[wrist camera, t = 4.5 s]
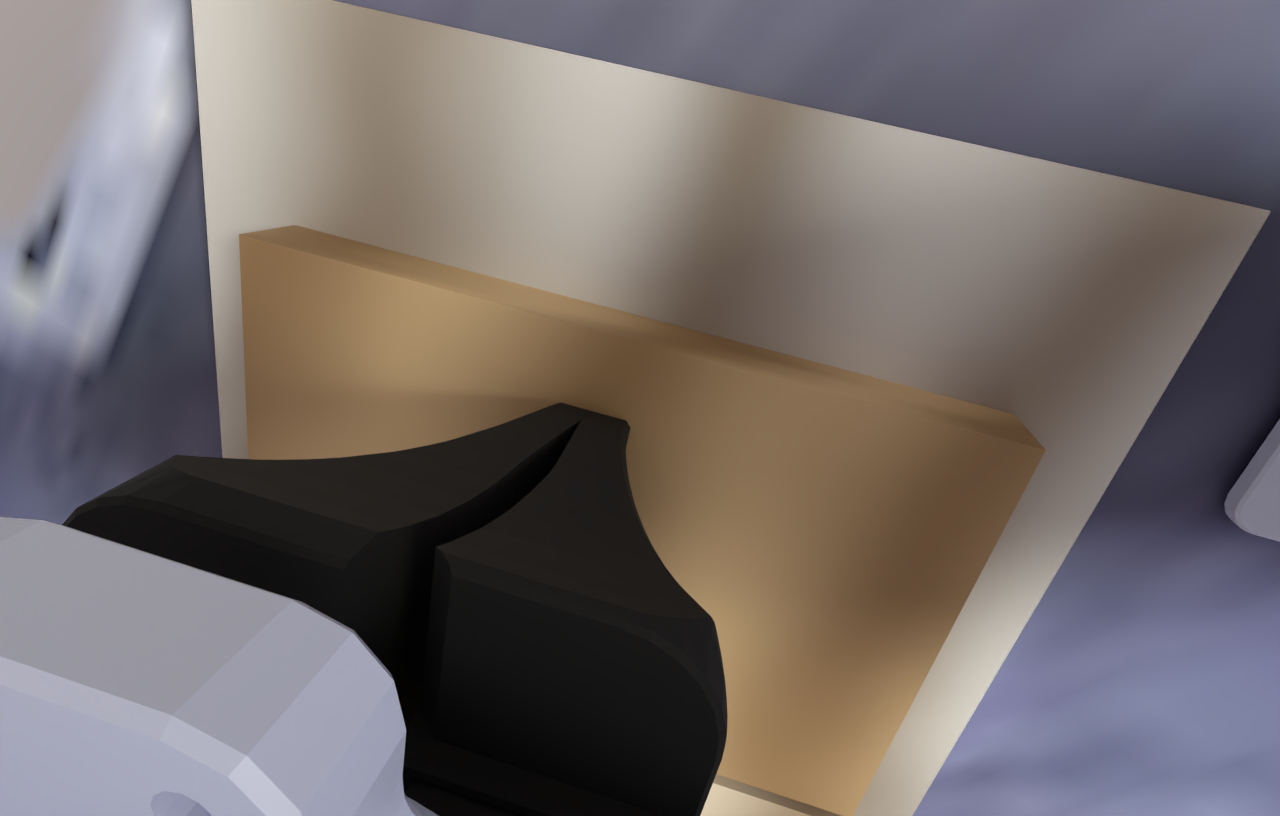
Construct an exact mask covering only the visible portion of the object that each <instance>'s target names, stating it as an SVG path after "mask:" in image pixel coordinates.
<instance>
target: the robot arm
mask: <svg viewBox="0 0 1280 816" xmlns="http://www.w3.org/2000/svg"><path fill="white" fill-rule="evenodd" d="M629 432H630V426H629V425H628V423H627V421H626V420H623V419H619V418H615V417H612V416H608V415H604V414H601V413H597V412H593V411H590V410H586V409H583V408H579V407H575V406H572V405H568V404H565V403H557V404H554V405H551V406H548V407H546V408H543V409H540V410H538V411H535V412H532V413H530V414H527V415H525V416H522V417H519V418H517V419H514V420H511V421H508V422H506V423H503V424H500V425H498V426H495V427H491V428H488V429H485V430H482V431H478V432H475V433H472V434H469V435H465V436H462V437H459V438H456V439H452V440H448V441H444V442H440V443H436V444H432V445H427V446H422V447H417V448H411V449H406V450H400V451H394V452H386V453H377V454H368V455H359V456H350V457H341V458H323V459H293V460H255V459H235V458H214V457H194V456H182V455H175V456H173V457H171V458H169V459H167V460H166V461H164V462H162V463H160V464H158V465H156V466H154V467H153V468H151V469H149V470H147V471H145V472H143V473H141V474H139V475H138V476H136V477H134V478H132V479H130V480H128V481H126V482H124V483H123V484H121V485H119V486H117V487H115V488H113V489H111V490H109V491H108V492H106V493H104V494H102V495H100V496H98V497H96V498H94V499H93V500H91V501H89V502H87V503H85V504H83V505H81V506H79V507H78V508H76V509H75V511H74V512H73V513H72V514H71V515H70V516H69V518H68V519H67V520H66V521H65V522H64V523H63V525H60V524H57V523H53V522H48V521H44V520H34V519H20V518H7V517H0V816H700V815H701V813H702V810H703V808H704V805H705V802H706V800H707V797H708V794H709V792H710V789H711V787H712V784H713V781H714V779H715V776H716V774H717V771H718V768H719V766H720V763H721V761H722V757H723V753H724V749H725V744H726V738H727V720H728V714H727V696H726V685H725V676H724V669H723V662H722V655H721V650H720V645H719V640H718V635H717V630H716V626H715V622H714V620H713V619H712V617H711V616H710V615H709V614H708V613H707V612H706V611H705V610H704V609H703V608H702V607H701V606H700V605H699V604H698V603H697V602H696V601H695V600H694V599H693V598H692V597H691V596H690V595H689V594H688V593H687V592H686V591H685V590H684V589H683V588H682V587H681V586H680V585H679V583H678V582H677V581H676V580H675V578H674V577H673V576H672V575H671V573H670V572H669V571H668V570H667V568H666V567H665V565H664V564H663V562H662V561H661V559H660V557H659V556H658V554H657V552H656V551H655V549H654V548H653V546H652V544H651V542H650V540H649V538H648V536H647V534H646V531H645V529H644V527H643V525H642V522H641V520H640V517H639V515H638V512H637V509H636V506H635V502H634V499H633V495H632V491H631V487H630V483H629V477H628V470H627V462H626V446H627V441H628V437H629ZM1224 506H1225V513H1226V514H1227V516H1228V517H1229V518H1230V519H1231V520H1232V521H1233V522H1234V523H1235V524H1236V525H1237V526H1239V527H1240V528H1241V529H1242V530H1244V531H1246V532H1248V533H1251V534H1253V535H1257V536H1260V537H1264V538H1268V539H1271V540H1275V541H1279V542H1280V419H1279V421H1278V422H1277V424H1276V425H1275V426H1274V428H1273V429H1272V431H1271V432H1270V434H1269V435H1268V437H1267V438H1266V440H1265V441H1264V442H1263V444H1262V445H1261V447H1260V448H1259V450H1258V451H1257V453H1256V454H1255V456H1254V457H1253V458H1252V460H1251V461H1250V463H1249V464H1248V466H1247V467H1246V469H1245V470H1244V472H1243V473H1242V474H1241V476H1240V477H1239V479H1238V480H1237V482H1236V483H1235V485H1234V486H1233V488H1232V489H1231V490H1230V492H1229V493H1228V495H1227V498H1226V500H1225V503H1224Z"/></svg>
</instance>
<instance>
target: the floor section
mask: <svg viewBox="0 0 1280 816" xmlns="http://www.w3.org/2000/svg"><path fill="white" fill-rule="evenodd" d="M191 1H192V16H193V31H194V45H195V60H196V75H197V90H198V104H199V119H200V134H201V149H202V163H203V178H204V193H205V208H206V222H207V237H208V252H209V267H210V282H211V296H212V311H213V326H214V341H215V355H216V370H217V385H218V400H219V414H220V429H221V444H222V458H235V459H248V440H247V416H246V392H245V368H244V344H243V320H242V297H241V273H240V249H239V234H244V233H250V232H256V231H262V230H268V229H274V228H280V227H286V226H292V225H297V226H301V227H305V228H309V229H312V230H316V231H320V232H324V233H328V234H331V235H335V236H339V237H343V238H347V239H350V240H354V241H358V242H362V243H366V244H369V245H373V246H377V247H381V248H385V249H388V250H392V251H396V252H400V253H404V254H407V255H411V256H415V257H419V258H423V259H426V260H430V261H434V262H438V263H442V264H445V265H449V266H453V267H457V268H461V269H464V270H468V271H472V272H476V273H480V274H483V275H487V276H491V277H495V278H499V279H502V280H506V281H510V282H514V283H518V284H521V285H525V286H529V287H533V288H537V289H540V290H544V291H548V292H552V293H556V294H559V295H563V296H567V297H571V298H574V299H578V300H582V301H586V302H590V303H593V304H597V305H601V306H605V307H609V308H612V309H616V310H620V311H624V312H628V313H631V314H635V315H639V316H643V317H647V318H650V319H654V320H658V321H662V322H666V323H669V324H673V325H677V326H681V327H685V328H688V329H692V330H696V331H700V332H704V333H707V334H711V335H715V336H719V337H723V338H726V339H730V340H734V341H738V342H742V343H745V344H749V345H753V346H757V347H761V348H764V349H768V350H772V351H776V352H780V353H783V354H787V355H791V356H795V357H799V358H802V359H806V360H810V361H814V362H818V363H821V364H825V365H829V366H833V367H837V368H840V369H844V370H848V371H852V372H856V373H859V374H863V375H867V376H871V377H875V378H878V379H882V380H886V381H890V382H894V383H897V384H901V385H905V386H909V387H913V388H916V389H920V390H924V391H928V392H932V393H935V394H939V395H943V396H947V397H950V398H954V399H958V400H962V401H966V402H969V403H973V404H977V405H981V406H985V407H988V408H992V409H996V410H1000V411H1004V412H1007V413H1011V414H1015V415H1016V416H1017V417H1018V419H1019V420H1020V421H1021V422H1022V423H1023V424H1024V426H1025V427H1026V428H1027V429H1028V430H1029V431H1030V432H1031V434H1032V435H1033V436H1034V437H1035V438H1036V439H1037V440H1038V442H1039V443H1040V444H1041V445H1042V446H1043V447H1044V449H1045V450H1046V451H1045V453H1044V455H1043V456H1042V458H1041V460H1040V462H1039V464H1038V466H1037V468H1036V470H1035V472H1034V474H1033V475H1032V477H1031V479H1030V481H1029V483H1028V485H1027V487H1026V489H1025V491H1024V492H1023V494H1022V496H1021V498H1020V500H1019V502H1018V504H1017V506H1016V508H1015V510H1014V511H1013V513H1012V515H1011V517H1010V519H1009V521H1008V523H1007V525H1006V527H1005V529H1004V530H1003V532H1002V534H1001V536H1000V538H999V540H998V542H997V544H996V546H995V547H994V549H993V551H992V553H991V555H990V557H989V559H988V561H987V563H986V565H985V566H984V568H983V570H982V572H981V574H980V576H979V578H978V580H977V582H976V583H975V585H974V587H973V589H972V591H971V593H970V595H969V597H968V599H967V601H966V602H965V604H964V606H963V608H962V610H961V612H960V614H959V616H958V618H957V619H956V621H955V623H954V625H953V627H952V629H951V631H950V633H949V635H948V637H947V638H946V640H945V642H944V644H943V646H942V648H941V650H940V652H939V654H938V656H937V657H936V659H935V661H934V663H933V665H932V667H931V669H930V671H929V673H928V674H927V676H926V678H925V680H924V682H923V684H922V686H921V688H920V690H919V692H918V693H917V695H916V697H915V699H914V701H913V703H912V705H911V707H910V709H909V710H908V712H907V714H906V716H905V718H904V720H903V722H902V724H901V726H900V728H899V729H898V731H897V733H896V735H895V737H894V739H893V741H892V743H891V745H890V746H889V748H888V750H887V752H886V754H885V756H884V758H883V760H882V762H881V764H880V765H879V767H878V769H877V771H876V773H875V775H874V777H873V779H872V781H871V782H870V784H869V786H868V788H867V790H866V792H865V794H864V796H863V798H862V800H861V801H860V803H859V805H858V807H857V809H856V811H855V813H854V815H853V816H912V815H913V814H914V812H915V810H916V808H917V807H918V805H919V803H920V802H921V800H922V798H923V797H924V795H925V793H926V792H927V790H928V788H929V787H930V785H931V783H932V782H933V780H934V778H935V776H936V775H937V773H938V771H939V770H940V768H941V766H942V765H943V763H944V761H945V760H946V758H947V756H948V755H949V753H950V751H951V750H952V748H953V746H954V745H955V743H956V741H957V739H958V738H959V736H960V734H961V733H962V731H963V729H964V728H965V726H966V724H967V723H968V721H969V719H970V718H971V716H972V714H973V713H974V711H975V709H976V707H977V706H978V704H979V702H980V701H981V699H982V697H983V696H984V694H985V692H986V691H987V689H988V687H989V686H990V684H991V682H992V681H993V679H994V677H995V675H996V674H997V672H998V670H999V669H1000V667H1001V665H1002V664H1003V662H1004V660H1005V659H1006V657H1007V655H1008V654H1009V652H1010V650H1011V649H1012V647H1013V645H1014V643H1015V642H1016V640H1017V638H1018V637H1019V635H1020V633H1021V632H1022V630H1023V628H1024V627H1025V625H1026V623H1027V622H1028V620H1029V618H1030V617H1031V615H1032V613H1033V611H1034V610H1035V608H1036V606H1037V605H1038V603H1039V601H1040V600H1041V598H1042V596H1043V595H1044V593H1045V591H1046V590H1047V588H1048V586H1049V585H1050V583H1051V581H1052V579H1053V578H1054V576H1055V574H1056V573H1057V571H1058V569H1059V568H1060V566H1061V564H1062V563H1063V561H1064V559H1065V558H1066V556H1067V554H1068V553H1069V551H1070V549H1071V547H1072V546H1073V544H1074V542H1075V541H1076V539H1077V537H1078V536H1079V534H1080V532H1081V531H1082V529H1083V527H1084V526H1085V524H1086V522H1087V521H1088V519H1089V517H1090V515H1091V514H1092V512H1093V510H1094V509H1095V507H1096V505H1097V504H1098V502H1099V500H1100V499H1101V497H1102V495H1103V494H1104V492H1105V490H1106V489H1107V487H1108V485H1109V483H1110V482H1111V480H1112V478H1113V477H1114V475H1115V473H1116V472H1117V470H1118V468H1119V467H1120V465H1121V463H1122V462H1123V460H1124V458H1125V457H1126V455H1127V453H1128V451H1129V450H1130V448H1131V446H1132V445H1133V443H1134V441H1135V440H1136V438H1137V436H1138V435H1139V433H1140V431H1141V430H1142V428H1143V426H1144V425H1145V423H1146V421H1147V420H1148V418H1149V416H1150V414H1151V413H1152V411H1153V409H1154V408H1155V406H1156V404H1157V403H1158V401H1159V399H1160V398H1161V396H1162V394H1163V393H1164V391H1165V389H1166V388H1167V386H1168V384H1169V382H1170V381H1171V379H1172V377H1173V376H1174V374H1175V372H1176V371H1177V369H1178V367H1179V366H1180V364H1181V362H1182V361H1183V359H1184V357H1185V356H1186V354H1187V352H1188V350H1189V349H1190V347H1191V345H1192V344H1193V342H1194V340H1195V339H1196V337H1197V335H1198V334H1199V332H1200V330H1201V329H1202V327H1203V325H1204V324H1205V322H1206V320H1207V318H1208V317H1209V315H1210V313H1211V312H1212V310H1213V308H1214V307H1215V305H1216V303H1217V302H1218V300H1219V298H1220V297H1221V295H1222V293H1223V292H1224V290H1225V288H1226V286H1227V285H1228V283H1229V281H1230V280H1231V278H1232V276H1233V275H1234V273H1235V271H1236V270H1237V268H1238V266H1239V265H1240V263H1241V261H1242V260H1243V258H1244V256H1245V254H1246V253H1247V251H1248V249H1249V248H1250V246H1251V244H1252V243H1253V241H1254V239H1255V238H1256V236H1257V234H1258V233H1259V231H1260V229H1261V228H1262V226H1263V224H1264V222H1265V221H1266V219H1267V217H1268V216H1269V214H1270V212H1271V211H1270V210H1265V209H1261V208H1256V207H1252V206H1247V205H1243V204H1238V203H1234V202H1229V201H1225V200H1220V199H1216V198H1212V197H1207V196H1203V195H1198V194H1194V193H1189V192H1185V191H1180V190H1176V189H1171V188H1167V187H1162V186H1158V185H1154V184H1149V183H1145V182H1140V181H1136V180H1131V179H1127V178H1122V177H1118V176H1113V175H1109V174H1104V173H1100V172H1096V171H1091V170H1087V169H1082V168H1078V167H1073V166H1069V165H1064V164H1060V163H1055V162H1051V161H1047V160H1042V159H1038V158H1033V157H1029V156H1024V155H1020V154H1015V153H1011V152H1006V151H1002V150H997V149H993V148H989V147H984V146H980V145H975V144H971V143H966V142H962V141H957V140H953V139H948V138H944V137H939V136H935V135H931V134H926V133H922V132H917V131H913V130H908V129H904V128H899V127H895V126H890V125H886V124H881V123H877V122H873V121H868V120H864V119H859V118H855V117H850V116H846V115H841V114H837V113H832V112H828V111H823V110H819V109H815V108H810V107H806V106H801V105H797V104H792V103H788V102H783V101H779V100H774V99H770V98H765V97H761V96H757V95H752V94H748V93H743V92H739V91H734V90H730V89H725V88H721V87H716V86H712V85H707V84H703V83H699V82H694V81H690V80H685V79H681V78H676V77H672V76H667V75H663V74H658V73H654V72H649V71H645V70H641V69H636V68H632V67H627V66H623V65H618V64H614V63H609V62H605V61H600V60H596V59H591V58H587V57H583V56H578V55H574V54H569V53H565V52H560V51H556V50H551V49H547V48H542V47H538V46H533V45H529V44H525V43H520V42H516V41H511V40H507V39H502V38H498V37H493V36H489V35H484V34H480V33H475V32H471V31H467V30H462V29H458V28H453V27H449V26H444V25H440V24H435V23H431V22H426V21H422V20H417V19H413V18H409V17H404V16H400V15H395V14H391V13H386V12H382V11H377V10H373V9H368V8H364V7H360V6H355V5H351V4H346V3H342V2H337V1H333V0H191ZM700 816H842V815H839V814H836V813H833V812H830V811H827V810H824V809H821V808H818V807H815V806H812V805H809V804H806V803H803V802H800V801H797V800H793V799H790V798H787V797H784V796H781V795H778V794H775V793H772V792H769V791H766V790H763V789H760V788H757V787H754V786H751V785H748V784H745V783H742V782H739V781H736V780H733V779H730V778H727V777H724V776H721V775H718V774H716V776H715V779H714V781H713V784H712V787H711V789H710V792H709V794H708V797H707V800H706V802H705V805H704V808H703V810H702V813H701V815H700Z"/></svg>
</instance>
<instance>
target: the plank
mask: <svg viewBox="0 0 1280 816" xmlns="http://www.w3.org/2000/svg"><path fill="white" fill-rule="evenodd" d="M239 249H240V273H241V297H242V320H243V344H244V368H245V392H246V416H247V440H248V459H255V460H293V459H323V458H341V457H350V456H359V455H368V454H377V453H386V452H394V451H400V450H406V449H411V448H417V447H422V446H427V445H432V444H436V443H440V442H444V441H448V440H452V439H456V438H459V437H462V436H465V435H469V434H472V433H475V432H478V431H482V430H485V429H488V428H491V427H495V426H498V425H500V424H503V423H506V422H508V421H511V420H514V419H517V418H519V417H522V416H525V415H527V414H530V413H532V412H535V411H538V410H540V409H543V408H546V407H548V406H551V405H554V404H557V403H565V404H568V405H572V406H575V407H579V408H583V409H586V410H590V411H593V412H597V413H601V414H604V415H608V416H612V417H615V418H619V419H623V420H626V421H627V423H628V425H629V426H630V432H629V437H628V441H627V446H626V462H627V470H628V477H629V483H630V487H631V491H632V495H633V499H634V502H635V506H636V509H637V512H638V515H639V517H640V520H641V522H642V525H643V527H644V529H645V531H646V534H647V536H648V538H649V540H650V542H651V544H652V546H653V548H654V549H655V551H656V552H657V554H658V556H659V557H660V559H661V561H662V562H663V564H664V565H665V567H666V568H667V570H668V571H669V572H670V573H671V575H672V576H673V577H674V578H675V580H676V581H677V582H678V583H679V585H680V586H681V587H682V588H683V589H684V590H685V591H686V592H687V593H688V594H689V595H690V596H691V597H692V598H693V599H694V600H695V601H696V602H697V603H698V604H699V605H700V606H701V607H702V608H703V609H704V610H705V611H706V612H707V613H708V614H709V615H710V616H711V617H712V619H713V620H714V622H715V626H716V630H717V635H718V640H719V645H720V650H721V655H722V662H723V669H724V676H725V685H726V696H727V714H728V720H727V738H726V744H725V749H724V753H723V757H722V761H721V763H720V766H719V768H718V771H717V774H718V775H721V776H724V777H727V778H730V779H733V780H736V781H739V782H742V783H745V784H748V785H751V786H754V787H757V788H760V789H763V790H766V791H769V792H772V793H775V794H778V795H781V796H784V797H787V798H790V799H793V800H797V801H800V802H803V803H806V804H809V805H812V806H815V807H818V808H821V809H824V810H827V811H830V812H833V813H836V814H839V815H842V816H853V815H854V813H855V811H856V809H857V807H858V805H859V803H860V801H861V800H862V798H863V796H864V794H865V792H866V790H867V788H868V786H869V784H870V782H871V781H872V779H873V777H874V775H875V773H876V771H877V769H878V767H879V765H880V764H881V762H882V760H883V758H884V756H885V754H886V752H887V750H888V748H889V746H890V745H891V743H892V741H893V739H894V737H895V735H896V733H897V731H898V729H899V728H900V726H901V724H902V722H903V720H904V718H905V716H906V714H907V712H908V710H909V709H910V707H911V705H912V703H913V701H914V699H915V697H916V695H917V693H918V692H919V690H920V688H921V686H922V684H923V682H924V680H925V678H926V676H927V674H928V673H929V671H930V669H931V667H932V665H933V663H934V661H935V659H936V657H937V656H938V654H939V652H940V650H941V648H942V646H943V644H944V642H945V640H946V638H947V637H948V635H949V633H950V631H951V629H952V627H953V625H954V623H955V621H956V619H957V618H958V616H959V614H960V612H961V610H962V608H963V606H964V604H965V602H966V601H967V599H968V597H969V595H970V593H971V591H972V589H973V587H974V585H975V583H976V582H977V580H978V578H979V576H980V574H981V572H982V570H983V568H984V566H985V565H986V563H987V561H988V559H989V557H990V555H991V553H992V551H993V549H994V547H995V546H996V544H997V542H998V540H999V538H1000V536H1001V534H1002V532H1003V530H1004V529H1005V527H1006V525H1007V523H1008V521H1009V519H1010V517H1011V515H1012V513H1013V511H1014V510H1015V508H1016V506H1017V504H1018V502H1019V500H1020V498H1021V496H1022V494H1023V492H1024V491H1025V489H1026V487H1027V485H1028V483H1029V481H1030V479H1031V477H1032V475H1033V474H1034V472H1035V470H1036V468H1037V466H1038V464H1039V462H1040V460H1041V458H1042V456H1043V455H1044V453H1045V451H1046V450H1045V449H1044V447H1043V446H1042V445H1041V444H1040V443H1039V442H1038V440H1037V439H1036V438H1035V437H1034V436H1033V435H1032V434H1031V432H1030V431H1029V430H1028V429H1027V428H1026V427H1025V426H1024V424H1023V423H1022V422H1021V421H1020V420H1019V419H1018V417H1017V416H1016V415H1015V414H1011V413H1007V412H1004V411H1000V410H996V409H992V408H988V407H985V406H981V405H977V404H973V403H969V402H966V401H962V400H958V399H954V398H950V397H947V396H943V395H939V394H935V393H932V392H928V391H924V390H920V389H916V388H913V387H909V386H905V385H901V384H897V383H894V382H890V381H886V380H882V379H878V378H875V377H871V376H867V375H863V374H859V373H856V372H852V371H848V370H844V369H840V368H837V367H833V366H829V365H825V364H821V363H818V362H814V361H810V360H806V359H802V358H799V357H795V356H791V355H787V354H783V353H780V352H776V351H772V350H768V349H764V348H761V347H757V346H753V345H749V344H745V343H742V342H738V341H734V340H730V339H726V338H723V337H719V336H715V335H711V334H707V333H704V332H700V331H696V330H692V329H688V328H685V327H681V326H677V325H673V324H669V323H666V322H662V321H658V320H654V319H650V318H647V317H643V316H639V315H635V314H631V313H628V312H624V311H620V310H616V309H612V308H609V307H605V306H601V305H597V304H593V303H590V302H586V301H582V300H578V299H574V298H571V297H567V296H563V295H559V294H556V293H552V292H548V291H544V290H540V289H537V288H533V287H529V286H525V285H521V284H518V283H514V282H510V281H506V280H502V279H499V278H495V277H491V276H487V275H483V274H480V273H476V272H472V271H468V270H464V269H461V268H457V267H453V266H449V265H445V264H442V263H438V262H434V261H430V260H426V259H423V258H419V257H415V256H411V255H407V254H404V253H400V252H396V251H392V250H388V249H385V248H381V247H377V246H373V245H369V244H366V243H362V242H358V241H354V240H350V239H347V238H343V237H339V236H335V235H331V234H328V233H324V232H320V231H316V230H312V229H309V228H305V227H301V226H297V225H292V226H286V227H280V228H274V229H268V230H262V231H256V232H250V233H244V234H239Z"/></svg>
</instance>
